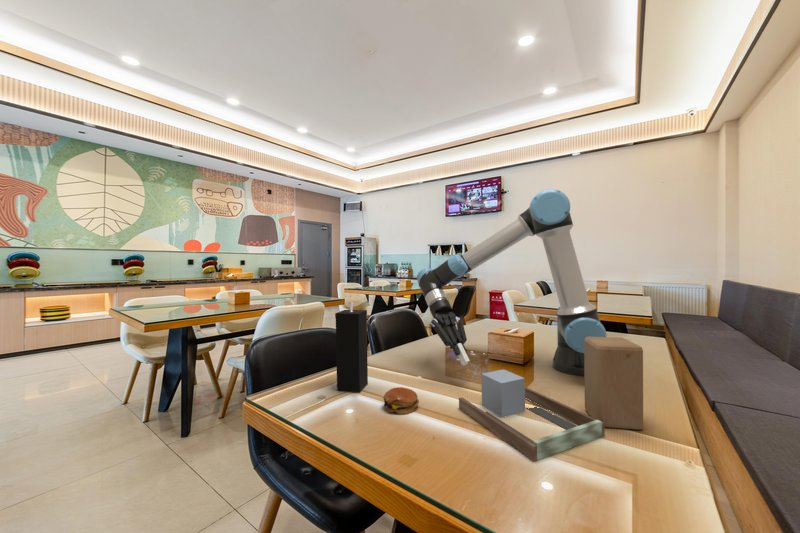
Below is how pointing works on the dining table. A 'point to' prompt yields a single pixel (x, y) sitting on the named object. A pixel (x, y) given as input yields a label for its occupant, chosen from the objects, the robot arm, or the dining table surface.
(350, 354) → the black tall block
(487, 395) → the slate block
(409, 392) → the burger
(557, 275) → the robot arm
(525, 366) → the dining table surface
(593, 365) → the wooden block
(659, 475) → the dining table surface
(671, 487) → the dining table surface
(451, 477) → the dining table surface
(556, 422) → the pads
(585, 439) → the u-shaped frame
